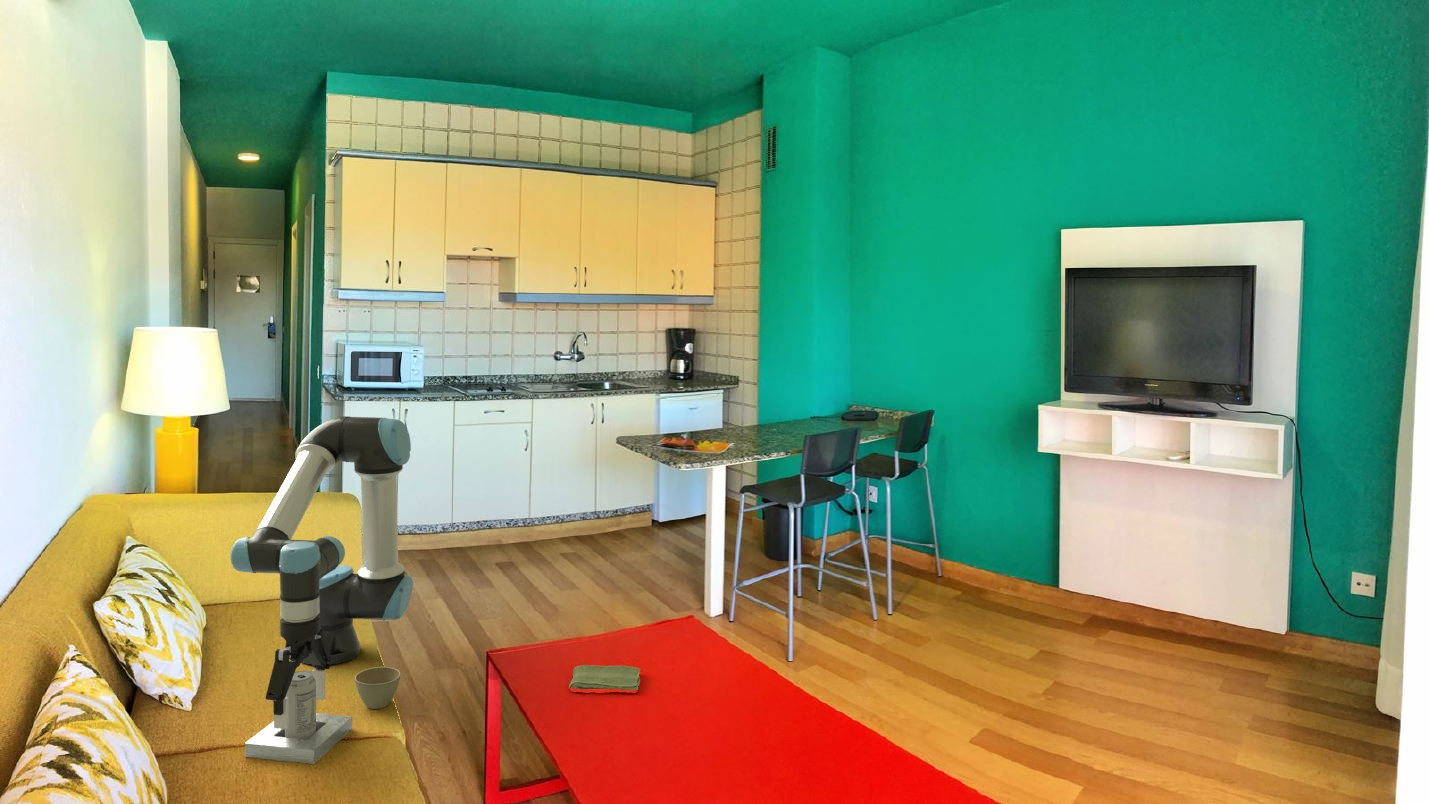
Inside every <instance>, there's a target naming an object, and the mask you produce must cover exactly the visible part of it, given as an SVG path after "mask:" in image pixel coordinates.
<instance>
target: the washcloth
mask: <svg viewBox="0 0 1429 804" xmlns="http://www.w3.org/2000/svg"><path fill="white" fill-rule="evenodd" d="M641 670H642V669H641V668H638V667H635V666H630V665H629V666H627V665H606V666H605V665H596V664H590V665H589V664H581V665H577V666H575V667H574V668H573V671H572V676H573V678H571V681H570V682H569V685H568V689H569V688H571V687H572V688H573V689H578V688H579V689H581V690H582V689H586V690H588V689H610V690H611V689H621V690H639V687H640V685H641V684H640V683H641V678H640V676H639V674H640V675H641V672H642V671H641ZM640 671H641V672H640ZM638 686H639V687H638Z"/></svg>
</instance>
